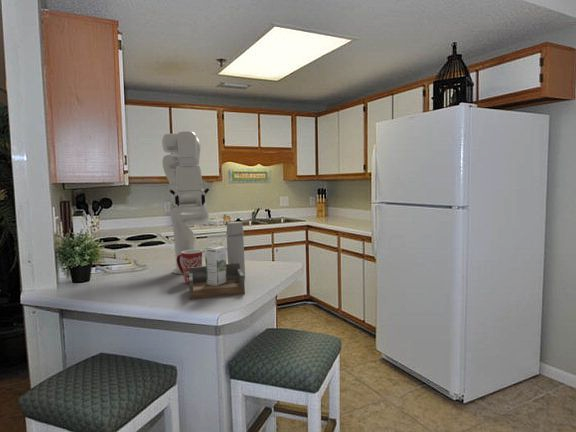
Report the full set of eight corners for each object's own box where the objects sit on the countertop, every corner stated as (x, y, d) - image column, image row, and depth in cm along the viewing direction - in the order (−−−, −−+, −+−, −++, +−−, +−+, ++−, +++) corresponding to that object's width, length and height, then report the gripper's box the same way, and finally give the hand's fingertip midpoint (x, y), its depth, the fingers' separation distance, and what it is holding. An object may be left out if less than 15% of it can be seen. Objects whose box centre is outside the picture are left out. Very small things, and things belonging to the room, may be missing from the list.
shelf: (190, 289, 157) (189, 267, 156) (240, 284, 161) (239, 263, 160) (190, 299, 143) (188, 275, 142) (244, 293, 148) (243, 270, 147)
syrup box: (216, 281, 156) (214, 245, 155) (227, 282, 153) (225, 246, 152) (206, 285, 151) (204, 247, 150) (217, 286, 148) (215, 248, 147)
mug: (208, 280, 170) (207, 249, 169) (194, 285, 162) (192, 253, 161) (186, 278, 176) (185, 248, 175) (172, 283, 168) (170, 252, 167)
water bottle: (243, 282, 165) (240, 223, 162) (225, 282, 166) (222, 223, 164) (249, 277, 174) (247, 220, 171) (232, 276, 175) (230, 221, 173)
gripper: (164, 163, 152) (167, 207, 153) (210, 162, 156) (212, 204, 157) (166, 164, 159) (168, 206, 161) (209, 163, 163) (211, 204, 165)
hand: (190, 205), depth 159 cm, fingers open, 9 cm apart
